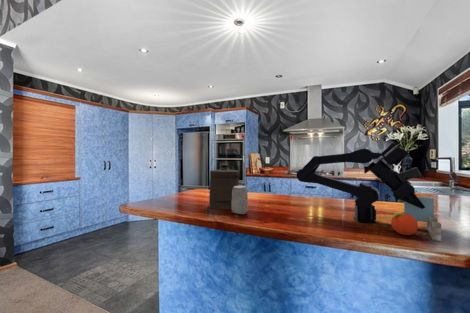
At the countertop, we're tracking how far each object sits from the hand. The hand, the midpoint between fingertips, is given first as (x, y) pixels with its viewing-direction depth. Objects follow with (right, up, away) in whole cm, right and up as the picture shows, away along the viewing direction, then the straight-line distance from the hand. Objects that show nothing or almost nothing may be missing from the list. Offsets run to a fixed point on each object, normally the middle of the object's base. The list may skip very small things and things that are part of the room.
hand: (423, 207), depth 79 cm
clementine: (-12, -8, -6) cm, 15 cm away
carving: (-64, -8, +21) cm, 67 cm away
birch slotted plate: (-2, -8, -7) cm, 11 cm away
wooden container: (-71, -8, +36) cm, 80 cm away
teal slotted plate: (-1, -8, +1) cm, 8 cm away
